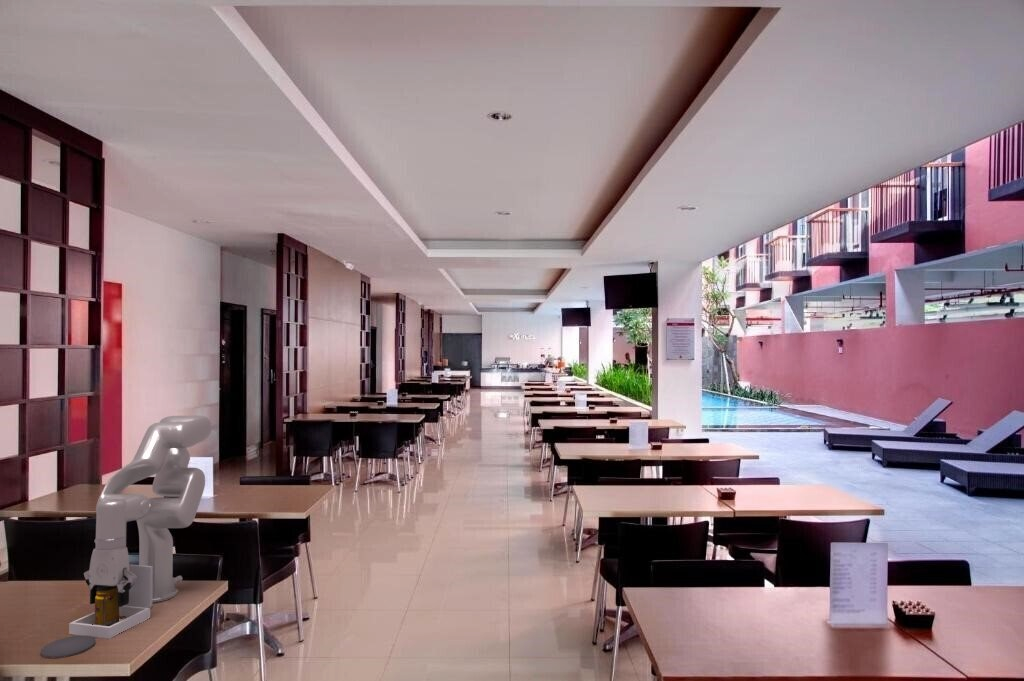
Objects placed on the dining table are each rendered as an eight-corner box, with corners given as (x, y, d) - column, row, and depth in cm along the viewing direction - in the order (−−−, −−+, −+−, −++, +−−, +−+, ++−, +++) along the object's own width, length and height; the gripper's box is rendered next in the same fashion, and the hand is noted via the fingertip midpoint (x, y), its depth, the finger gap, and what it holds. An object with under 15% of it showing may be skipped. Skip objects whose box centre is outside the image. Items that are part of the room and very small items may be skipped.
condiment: (89, 627, 190) (89, 585, 190) (122, 618, 196) (122, 577, 196) (98, 634, 185) (99, 591, 185) (131, 624, 191) (132, 583, 192)
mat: (70, 636, 183) (70, 633, 183) (106, 640, 180) (106, 637, 180) (29, 655, 172) (29, 652, 172) (66, 660, 169) (66, 657, 169)
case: (114, 613, 200) (115, 563, 200) (152, 617, 197) (152, 566, 197) (69, 634, 185) (69, 580, 185) (109, 638, 182) (109, 583, 182)
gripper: (75, 544, 189) (73, 606, 188) (125, 548, 185) (123, 611, 184) (97, 538, 196) (95, 597, 196) (146, 541, 192) (144, 602, 191)
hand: (109, 603), depth 190 cm, fingers open, 9 cm apart
